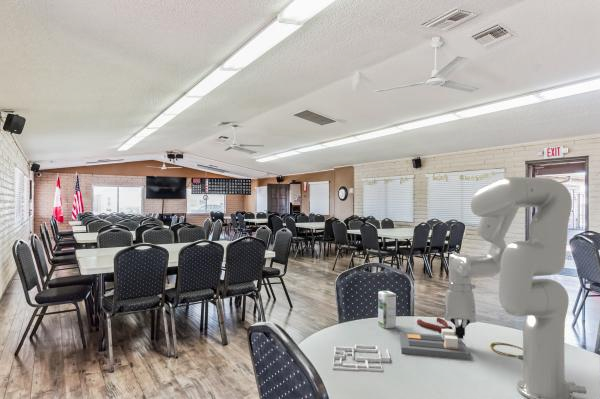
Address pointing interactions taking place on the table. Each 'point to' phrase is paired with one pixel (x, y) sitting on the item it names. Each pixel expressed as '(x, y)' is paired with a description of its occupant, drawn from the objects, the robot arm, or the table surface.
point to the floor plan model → (359, 358)
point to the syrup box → (386, 309)
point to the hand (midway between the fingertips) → (460, 337)
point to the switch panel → (431, 346)
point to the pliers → (435, 327)
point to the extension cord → (506, 353)
